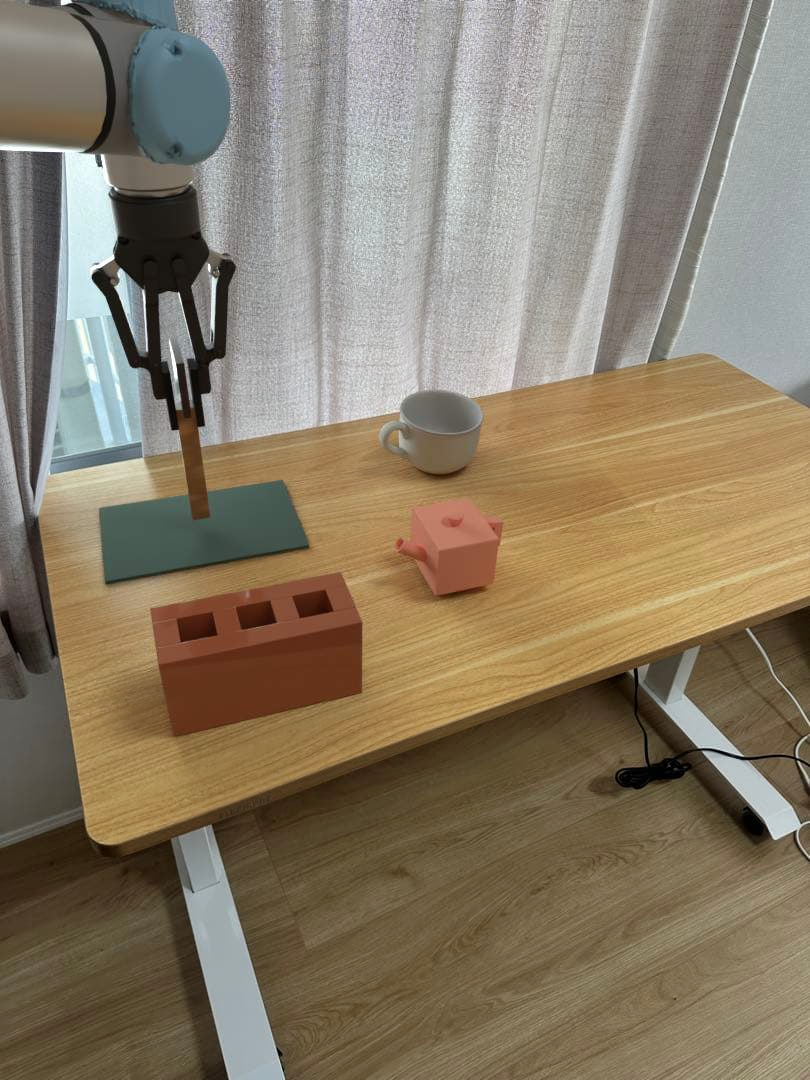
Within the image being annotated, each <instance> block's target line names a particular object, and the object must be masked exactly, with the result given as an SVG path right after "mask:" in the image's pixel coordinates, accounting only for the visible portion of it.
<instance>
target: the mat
mask: <svg viewBox="0 0 810 1080" xmlns="http://www.w3.org/2000/svg"><path fill="white" fill-rule="evenodd" d="M207 495H208V502H209V510H210V518H204V519H198V520H193V519H192V515H191V511H190V504H189V498H188V493H187V494H180V495H175V496H174V495H173V496H167V497H161V498H155V499H149V500H141V501H135V502H129V503H122V504H116V505H108V506H102V507H98V510H99V521H100V522H99V523H100V533H101V535H100V536H101V544H102V545H101V547H102V548H101V549H102V559H103V568H104V569H103V571H104V583H105V585H108V584H115V583H120V582H126V581H131V580H137V579H142V578H148V577H154V576H159V575H165V574H171V573H176V572H181V571H187V570H192V569H199V568H205V567H210V566H216V565H220V564H227V563H232V562H237V561H243V560H248V559H253V558H259V557H265V556H271V555H275V554H282V553H287V552H293V551H299V550H305V549H309V548H310V543H309V541H308V538H307V536H306V533H305V531H304V529H303V526H302V524H301V521H300V519H299V516H298V514H297V511H296V509H295V507H294V504H293V501H292V499H291V497H290V494H289V491H288V489H287V486H286V484H285V482H284V480H283V479H277V480H271V481H267V482H266V481H265V482H259V483H251V484H245V485H240V486H232V487H225V488H219V489H213V490H207Z"/></svg>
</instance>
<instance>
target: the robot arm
mask: <svg viewBox="0 0 810 1080" xmlns="http://www.w3.org/2000/svg"><path fill="white" fill-rule="evenodd" d="M178 25H179V24H178V20H177V15H176V8H175V4H174V0H70V2H68V3H66V4H61V5H53V6H52V5H51V6H50V5H49V6H41V5H40V6H39V5H35V4H29V3H23V2H18V1H13V0H0V151H22V152H24V151H25V152H50V153H51V152H52V153H53V152H54V153H76V154H82V155H83V154H84V155H98V156H99V155H100V157H101V162H102V169H103V174H104V180H105V182H106V183H107V185H109V186H110V187H111V188H110V190H109V192H108V193H107V195H108V201H109V207H110V212H111V218H112V223H113V228H114V229H113V230H114V235H115V243H114V246H113V248H112V256H110V257H109V258H107V259H106V260H104V261H103V262H101V263H100V262H93V263H92V264H91V265H90V277H91V281H92V282H93V284H94V285H95V287H96V288H97V289H98V290H99V291H100V292H101V294H102V295H103V296H104V297H105V300H106V303H107V307H108V309H109V311H110V315H111V318H112V320H113V324H114V326H115V328H116V331H117V334H118V337H119V340H120V343H121V346H122V348H123V351H124V355H125V357H126V360H127V363H128V365H129V367H130V368H131V369H136V370H137V369H144V370H146V371H148V373H149V379H150V384H151V389H152V394H153V395H152V396H153V397H154V398H155V400H156V401H160V400H161V401H162V400H165V403H166V409H167V410H166V411H167V417H168V421H169V425H170V429H171V432H174V431H178V430H179V426H178V420H177V413H176V407H175V402H176V400H175V396H174V389H173V388H174V387H173V382H172V376H171V375H172V374H171V371H170V367H169V362H168V360H163V361H162V345H161V325H160V324H161V323H160V295H162V294H165V293H168V292H169V293H176V294H178V298H179V302H180V305H181V309H182V314H183V318H184V322H185V325H186V330H187V334H188V338H189V342H190V347H191V350H192V354H193V357H190V358H189V357H188V358H186V366H187V372H188V378H189V384H190V392H191V398H192V399H191V400H193V403H194V406H195V411H196V418H197V425H198V428H204V427H205V428H206V421H205V413H204V407H203V397H202V395H208V394H211V391H212V383H211V382H212V381H211V374H210V364H211V363H212V362H213V361H216V360H222V359H224V358H225V357H226V355H227V338H228V337H227V334H228V311H229V310H228V309H229V289H230V284H231V282H232V279H233V277H234V274H235V272H236V269H237V266H236V263H235V262H234V259H233V258H232V256H231V255H230V254H229V253H227V252H223V253H220V252H216V251H214V250H213V249H210V247H209V246H208V243H207V241H206V240H205V238H204V237H203V233H202V227H201V226H202V225H201V219H200V210H199V201H198V192H197V189H196V188H194V186H193V185H192V183H193V182H194V181H195V178H196V174H195V173H196V172H195V166H197V165H199V164H202V163H203V162H206V161H207V160H208V159H210V158H211V157H212V156H213V155H214V154H215V153H216V152H217V151H218V149H219V148H220V147H221V146H222V143H223V142H224V140H225V137H226V134H227V132H228V129H229V125H230V121H231V113H230V111H231V108H232V107H231V98H232V96H231V89H230V83H229V79H228V75H227V73H226V70H225V68H224V66H223V64H222V62H221V60H220V59H219V57H218V56H217V54H216V53H215V52H214V50H213V49H212V48H211V46H209V45H208V44H207V43H206V42H205V41H203V40H202V39H200V38H199V37H196V36H195V35H192V34H190V33H185V32H180V31H179V27H178ZM206 263H208V272H209V274H210V275H211V276H212V278H211V299H210V331H209V332H210V333H209V343H207V344H205V341H204V337H203V332H202V327H201V324H200V319H199V314H198V311H197V307H196V303H195V297H194V293H193V288H192V286H193V285H194V283H195V281H196V279H197V278H198V276H199V274H200V273H201V271H202V269H203V268H204V267H205V264H206ZM120 269H121V270H122V271H123V273H125V274H126V275H127V276H128V277H129V278H130V279H131V280H132V281H133V283H135V285H137V286H138V287H139V288H140V290H142V301H143V315H144V316H143V317H144V333H145V350H146V351H145V350H141V349H139V346H138V343H137V340H136V336H135V334H134V331H133V328H132V325H131V322H130V319H129V316H128V313H127V310H126V307H125V305H124V301H123V298H122V295H121V292H120V290H119V287H118V285H119V284H120V281H121V279H120V274H119V270H120Z"/></svg>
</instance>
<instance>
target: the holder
mask: <svg viewBox="0 0 810 1080" xmlns="http://www.w3.org/2000/svg"><path fill="white" fill-rule="evenodd" d="M149 610H150V617H151V618H150V619H151V624H152V630H153V632H152V633H153V638H154V639H153V640H154V646H155V652H156V653H155V654H156V659H157V666H158V671H159V675H160V679H161V685H162V689H163V693H164V698H165V702H166V703H165V704H166V707H167V711H168V716H169V717H168V718H169V721H170V727H171V730H172V736H173V737H179V736H184V735H187V734H192V733H197V732H201V731H204V730H209V729H214V728H217V727H221V726H226V725H230V724H235V723H238V722H243V721H247V720H251V719H256V718H259V717H264V716H267V715H272V714H276V713H280V712H281V713H282V712H285V711H289V710H293V709H298V708H302V707H306V706H311V705H315V704H319V703H324V702H327V701H332V700H337V699H341V698H344V697H349V696H353V695H358V694H361V693H363V620H362V617H361V615H360V613H359V611H358V608H357V605H356V603H355V601H354V599H353V596H352V594H351V591H350V589H349V587H348V585H347V583H346V581H345V579H344V576H343V574H342V572H341V571H338V572H332V573H327V574H321V575H317V576H312V577H306V578H300V579H295V580H291V581H285V582H280V583H275V584H269V585H264V586H258V587H253V588H248V589H243V590H238V591H233V592H228V593H222V594H217V595H211V596H206V597H201V598H195V599H189V600H186V601H180V602H176V603H175V602H174V603H170V604H164V605H159V606H154V607H150V608H149Z"/></svg>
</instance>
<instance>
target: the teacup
mask: <svg viewBox="0 0 810 1080" xmlns="http://www.w3.org/2000/svg"><path fill="white" fill-rule="evenodd" d="M398 410H399V420H391V421H388V422H387V423H385V424H384V425H383V426H382V428H381V429H380V432H379V435H378V440H379V444H380V446H381V447H382V448H383V449H384V450H385V451H387V453H390V454H392V455H394V456H398V458H399V459H401V461H407V462H408V463H410V464H411V465H412V466H414V467H415V469H418V470H420V471H421V472H424V473H426V474H430V475H446V474H451V473H455V472H456V471H459V470H461V469H463V468H465V467H466V466H468V465H469V464H470V463H471V462H472V460H473V459H474V458H475V455H476V453H477V450H478V446H479V443H480V437H481V431H482V424H483V423H484V420H485V414H484V411H483V408H482V407H481V406H480V405H479V403H478V402H476V401H475V400H474V399H472V398H471V397H468V396H467V395H465V394H462V393H458V392H455V391H451V390H444V389H426V390H420V391H416V392H414V393H411V394H409V395H406V397H404V398H403V399H402V400H401V402H400V404H399V409H398ZM395 431H398V446H395V445H392V444H391V443H390V441H389V439H390V436H391V435H392V434H393V433H394V432H395Z"/></svg>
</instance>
